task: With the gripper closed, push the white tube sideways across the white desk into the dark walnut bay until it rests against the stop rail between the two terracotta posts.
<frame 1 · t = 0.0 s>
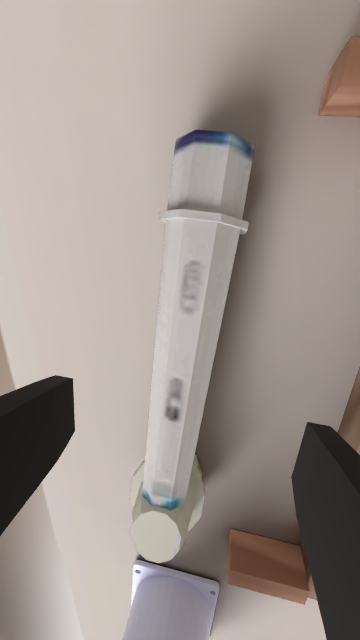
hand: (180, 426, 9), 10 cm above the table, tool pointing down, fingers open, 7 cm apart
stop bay: (319, 383, 18), on the table
white tube: (189, 358, 20), on the table
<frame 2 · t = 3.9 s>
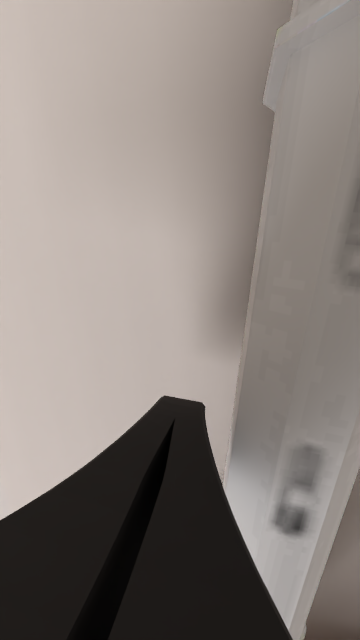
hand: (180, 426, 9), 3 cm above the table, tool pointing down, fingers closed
white tube: (272, 380, 11), on the table, touching gripper
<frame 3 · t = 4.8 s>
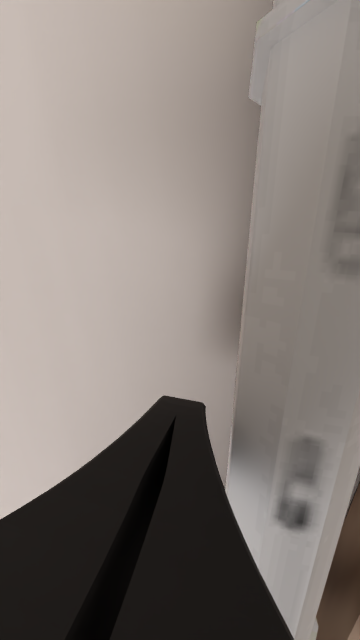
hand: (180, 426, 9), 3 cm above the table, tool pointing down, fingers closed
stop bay: (329, 403, 11), on the table
white tube: (272, 376, 11), on the table, touching gripper
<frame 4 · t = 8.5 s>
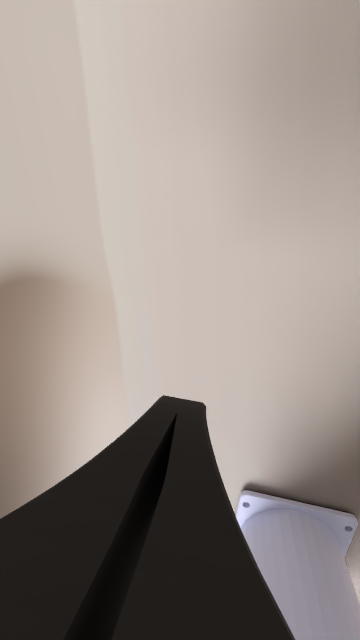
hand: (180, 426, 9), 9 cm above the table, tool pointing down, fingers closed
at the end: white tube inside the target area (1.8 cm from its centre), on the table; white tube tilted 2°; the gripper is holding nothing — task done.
